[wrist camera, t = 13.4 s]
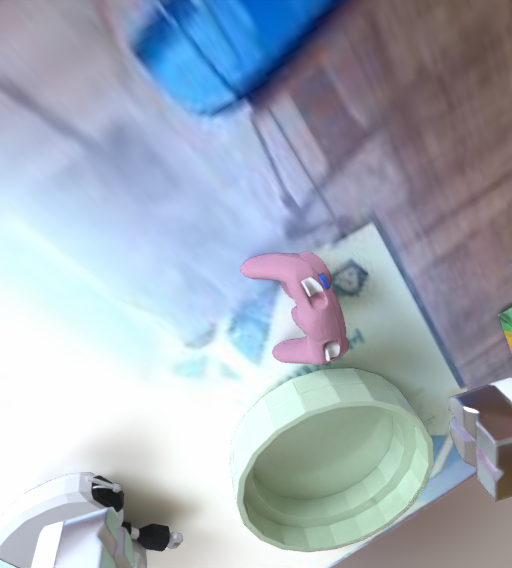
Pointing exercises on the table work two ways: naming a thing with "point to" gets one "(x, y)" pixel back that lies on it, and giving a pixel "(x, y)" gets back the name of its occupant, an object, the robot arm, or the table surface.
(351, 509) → the bowl
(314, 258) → the video game controller
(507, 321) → the chalk box
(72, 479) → the robot toy
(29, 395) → the table surface
